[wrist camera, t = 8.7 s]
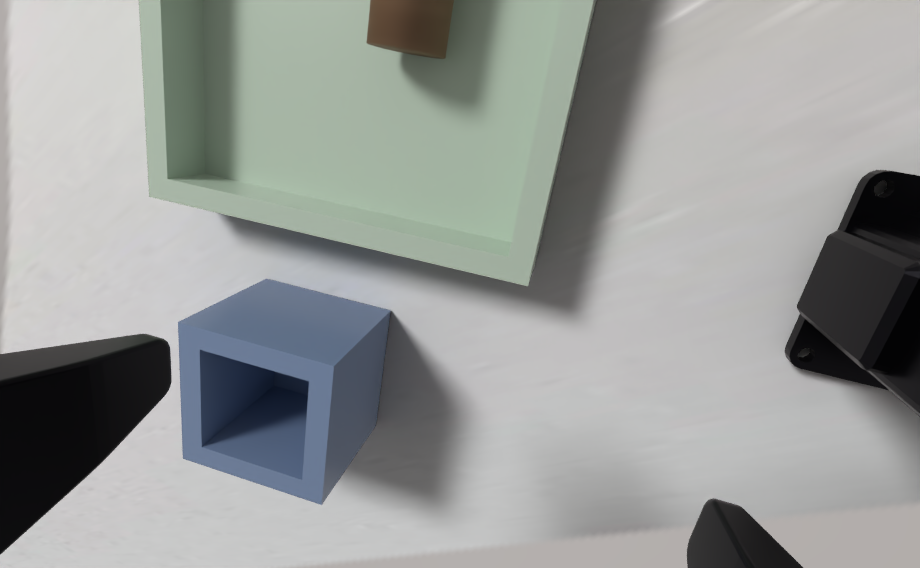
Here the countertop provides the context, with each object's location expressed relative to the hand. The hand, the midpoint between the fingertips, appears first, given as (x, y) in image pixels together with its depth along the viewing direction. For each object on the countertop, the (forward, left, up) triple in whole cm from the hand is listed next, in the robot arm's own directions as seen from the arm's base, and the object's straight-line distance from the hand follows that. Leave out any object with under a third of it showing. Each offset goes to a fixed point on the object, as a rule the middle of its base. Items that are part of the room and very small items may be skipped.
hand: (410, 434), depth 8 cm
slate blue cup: (+7, +6, -11) cm, 14 cm away
